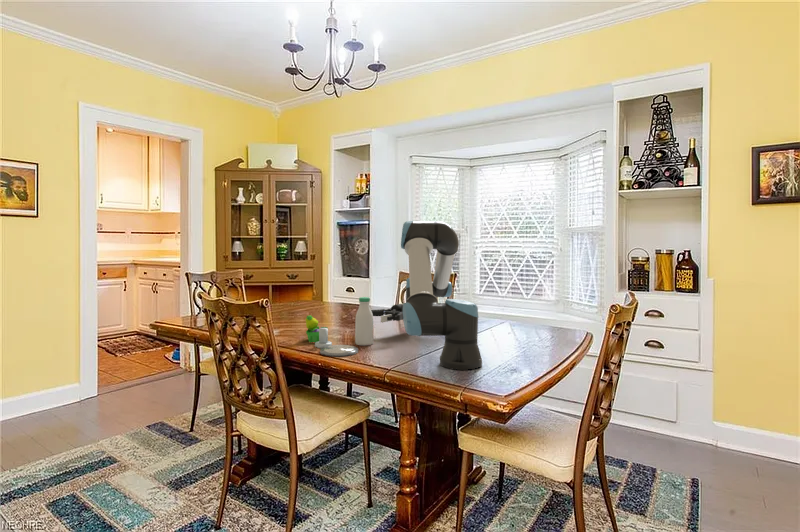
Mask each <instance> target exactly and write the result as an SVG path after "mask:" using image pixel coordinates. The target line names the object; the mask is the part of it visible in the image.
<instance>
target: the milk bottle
mask: <svg viewBox="0 0 800 532" xmlns="http://www.w3.org/2000/svg"><path fill="white" fill-rule="evenodd" d="M370 301H371V298H370V297H368V296H367V297H366V296H363V297H361V296H360V297H359V298H358V303H359V306H358V308H357V311H356V314H355V322H354V324H355V325H354V326H355V331H354V335H355V336H354V339H355V341H354V342H355V345H358V346H371V345H373V344H374V316H373V314H372V311H371V310H372V308H371V306H370Z"/></svg>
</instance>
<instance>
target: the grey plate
mask: <svg viewBox="0 0 800 532" xmlns="http://www.w3.org/2000/svg"><path fill="white" fill-rule="evenodd" d="M319 352H320V354H321V355H322V356H325V357H331V358H332V357H333V358H334V357H335V358H337V357H338V358H339V357H340V358H342V357H350V355H351V356H354V354H355V355H356V353H357V354H358V353H359V348H358V347H357V346H354V345H348V344H332V345H331V346H327V347H323V348H319Z"/></svg>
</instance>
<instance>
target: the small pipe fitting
mask: <svg viewBox="0 0 800 532" xmlns="http://www.w3.org/2000/svg"><path fill="white" fill-rule="evenodd" d="M328 339H329V329H328V328H319V341H318V342H315V343H314V347H315V348H316V347H317V348H316V349H321V348H323V347H327V346H331V345H333V342H332V341H330V340H328Z"/></svg>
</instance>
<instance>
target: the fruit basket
mask: <svg viewBox="0 0 800 532" xmlns="http://www.w3.org/2000/svg"><path fill="white" fill-rule="evenodd" d="M318 324H319V320H318V319H317V318H315V317H313V315H307V316H306V318H305V326H306V328H307V330H306V331H305V333H306V336H307V339H308V342H318V341H319V328H328V327H327V326H319V325H318Z"/></svg>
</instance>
